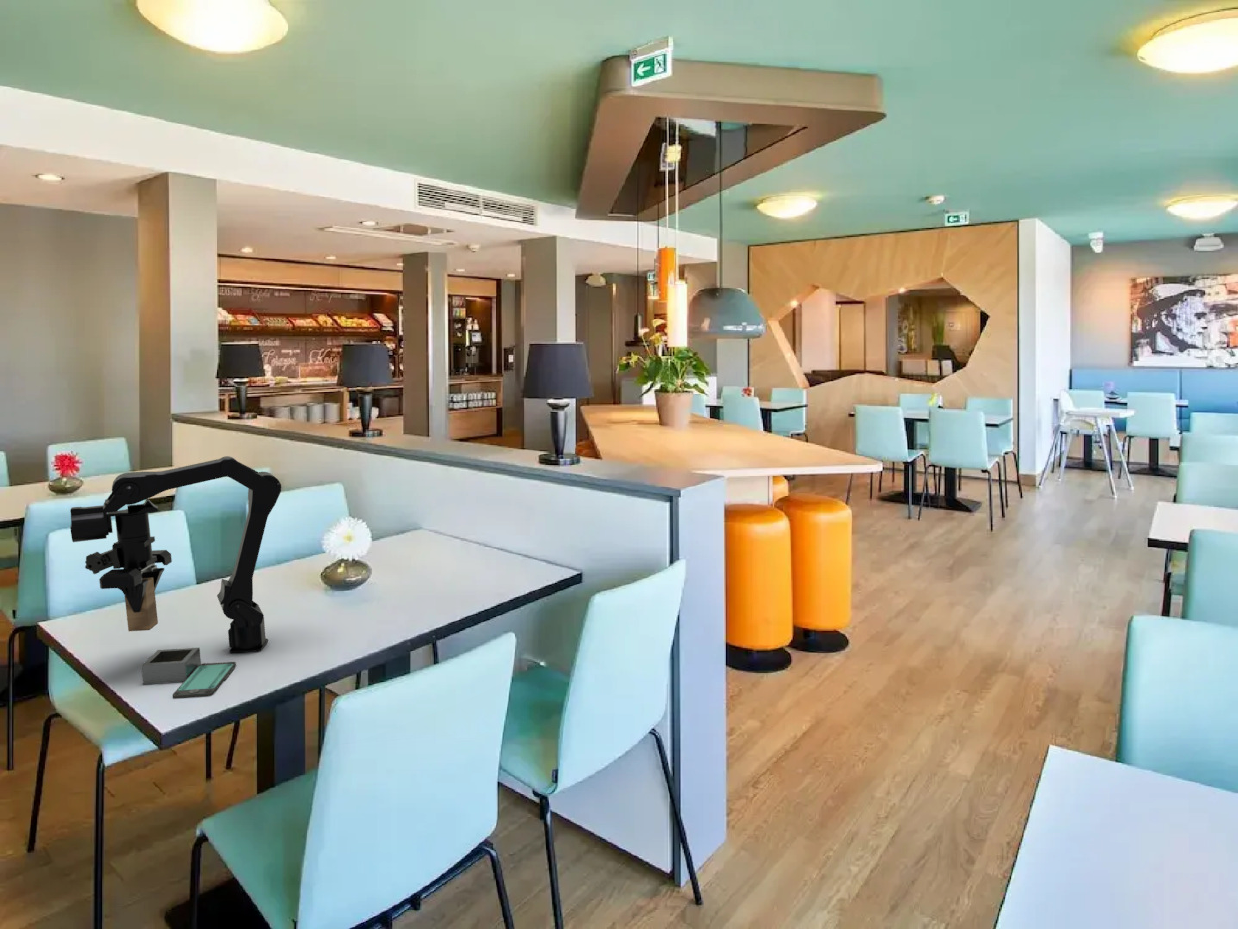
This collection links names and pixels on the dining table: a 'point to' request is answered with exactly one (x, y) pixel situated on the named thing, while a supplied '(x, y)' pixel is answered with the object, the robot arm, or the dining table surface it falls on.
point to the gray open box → (170, 665)
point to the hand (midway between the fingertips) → (141, 608)
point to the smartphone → (204, 680)
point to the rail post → (143, 611)
